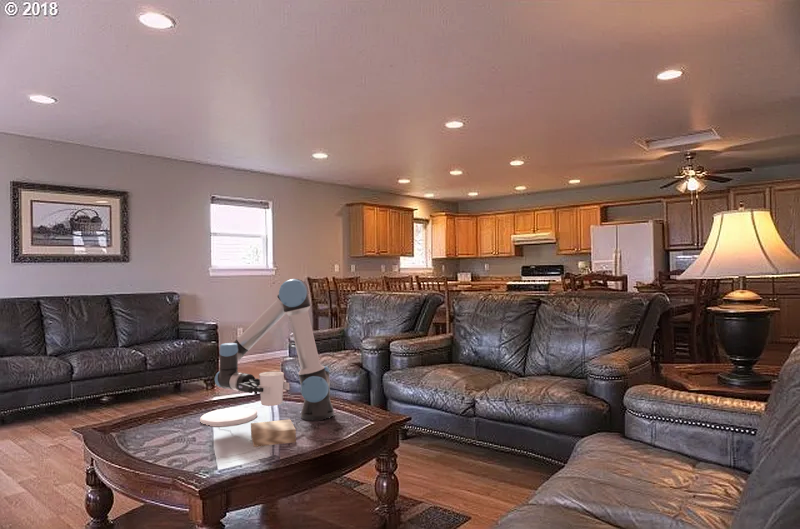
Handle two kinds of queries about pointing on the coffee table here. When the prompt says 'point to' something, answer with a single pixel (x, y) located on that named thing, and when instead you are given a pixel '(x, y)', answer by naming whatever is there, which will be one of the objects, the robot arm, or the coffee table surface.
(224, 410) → the decorative plate
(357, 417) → the coffee table surface
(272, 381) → the candle holder
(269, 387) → the robot arm
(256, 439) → the maple riser
